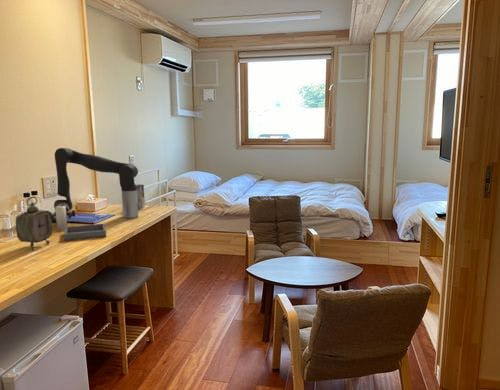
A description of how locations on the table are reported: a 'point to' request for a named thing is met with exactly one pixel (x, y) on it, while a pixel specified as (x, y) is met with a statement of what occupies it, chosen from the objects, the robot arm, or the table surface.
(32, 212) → the tabletop clock
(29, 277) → the table surface
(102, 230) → the tray
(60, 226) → the canister
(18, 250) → the table surface
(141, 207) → the coffee box
